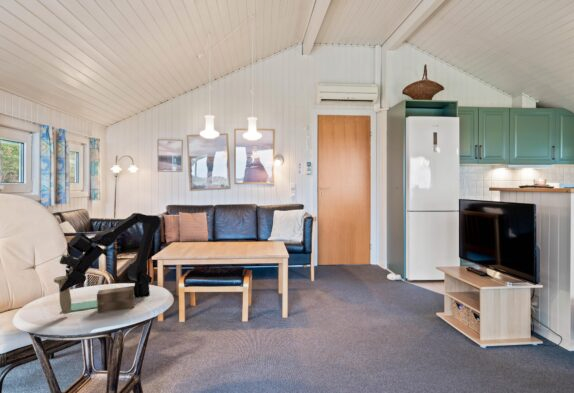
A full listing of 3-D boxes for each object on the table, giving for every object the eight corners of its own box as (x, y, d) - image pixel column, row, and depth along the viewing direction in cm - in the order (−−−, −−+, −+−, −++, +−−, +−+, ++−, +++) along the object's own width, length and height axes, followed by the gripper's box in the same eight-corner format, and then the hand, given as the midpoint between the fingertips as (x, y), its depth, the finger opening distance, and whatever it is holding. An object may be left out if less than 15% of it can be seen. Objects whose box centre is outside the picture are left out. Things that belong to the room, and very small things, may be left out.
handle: (72, 314, 143) (68, 278, 142) (55, 316, 142) (51, 280, 141) (77, 309, 148) (74, 275, 147) (61, 311, 147) (57, 276, 146)
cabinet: (134, 303, 159) (133, 285, 158) (133, 308, 151) (132, 290, 151) (100, 308, 154) (98, 290, 153) (97, 314, 146) (96, 295, 146)
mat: (100, 300, 163) (100, 299, 163) (97, 308, 154) (97, 306, 154) (66, 305, 158) (65, 304, 158) (60, 313, 149) (60, 312, 149)
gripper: (70, 244, 153) (41, 274, 147) (74, 250, 138) (42, 284, 132) (91, 258, 158) (65, 288, 152) (98, 266, 143) (68, 299, 137)
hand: (60, 289), depth 143 cm, fingers closed on handle, 5 cm apart
